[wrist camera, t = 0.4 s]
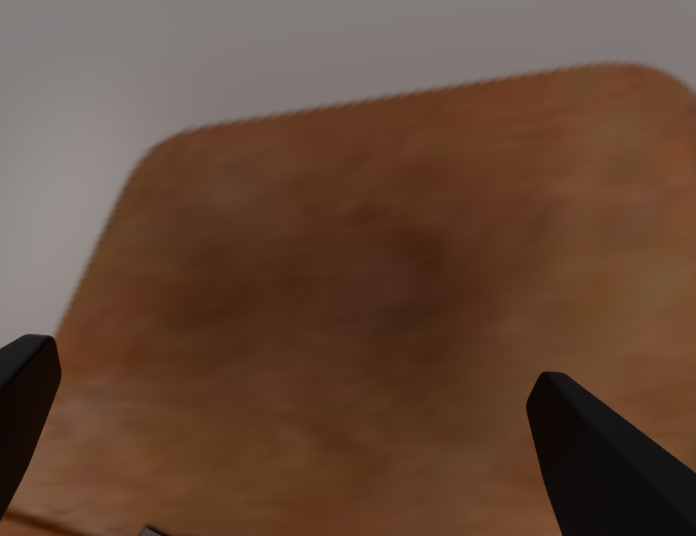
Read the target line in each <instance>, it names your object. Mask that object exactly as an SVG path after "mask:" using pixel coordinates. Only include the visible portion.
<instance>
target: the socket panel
mask: <svg viewBox="0 0 696 536" xmlns="http://www.w3.org/2000/svg"><path fill="white" fill-rule="evenodd" d="M141 536H161V535H159V534H157V533H155V532H153V531H151V530H149V529H147V528H146V529H145V530H144V532H143V533H142V535H141Z"/></svg>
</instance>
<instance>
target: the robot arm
mask: <svg viewBox="0 0 696 536" xmlns="http://www.w3.org/2000/svg"><path fill="white" fill-rule="evenodd" d="M60 381H61V366H60V361H59V356H58V351H57V346H56V342H55V339H54V338H53V337H52V336H49V335H37V334H27V335H24V336H21V337H20V338H18V339H16V340H15V341H13V342H11V343H9V344H7V345H6V346H4V347H2V348H0V521H1V519H2V517H3V516H4V514H5V512H6V510H7V508H8V506H9V504H10V502H11V500H12V498H13V496H14V494H15V492H16V490H17V488H18V486H19V484H20V482H21V480H22V478H23V476H24V474H25V472H26V470H27V468H28V466H29V463H30V461H31V458H32V456H33V454H34V451H35V448H36V446H37V443H38V440H39V438H40V435H41V432H42V430H43V427H44V424H45V422H46V419H47V417H48V414H49V411H50V409H51V406H52V403H53V401H54V398H55V395H56V393H57V390H58V387H59V384H60ZM526 411H527V416H528V420H529V424H530V428H531V432H532V436H533V440H534V444H535V449H536V453H537V457H538V461H539V465H540V469H541V473H542V477H543V480H544V484H545V487H546V490H547V493H548V496H549V499H550V502H551V505H552V508H553V510H554V513H555V516H556V519H557V522H558V524H559V527H560V530H561V533H562V536H696V473H695V472H694V471H692V470H691V469H690V468H688V467H687V466H686V465H684V464H683V463H682V462H681V461H679V460H678V459H677V458H675V457H674V456H673V455H671V454H670V453H669V452H667V451H666V450H665V449H663V448H662V447H661V446H660V445H658V444H657V443H656V442H654V441H653V440H652V439H650V438H649V437H648V436H646V435H645V434H644V433H642V432H641V431H640V430H638V429H637V428H636V427H635V426H633V425H632V424H631V423H629V422H628V421H627V420H625V419H624V418H623V417H621V416H620V415H619V414H617V413H616V412H615V411H614V410H612V409H611V408H610V407H608V406H607V405H606V404H604V403H603V402H602V401H600V400H599V399H598V398H596V397H595V396H594V395H592V394H591V393H590V392H589V391H587V390H586V389H585V388H583V387H582V386H581V385H579V384H578V383H577V382H575V381H574V380H573V379H571V378H570V377H569V376H567V375H566V374H564V373H561V372H548V371H546V372H543V373H541V374H540V376H539V377H538V379H537V381H536V383H535V385H534V387H533V389H532V391H531V393H530V395H529V397H528V400H527V404H526Z"/></svg>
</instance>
